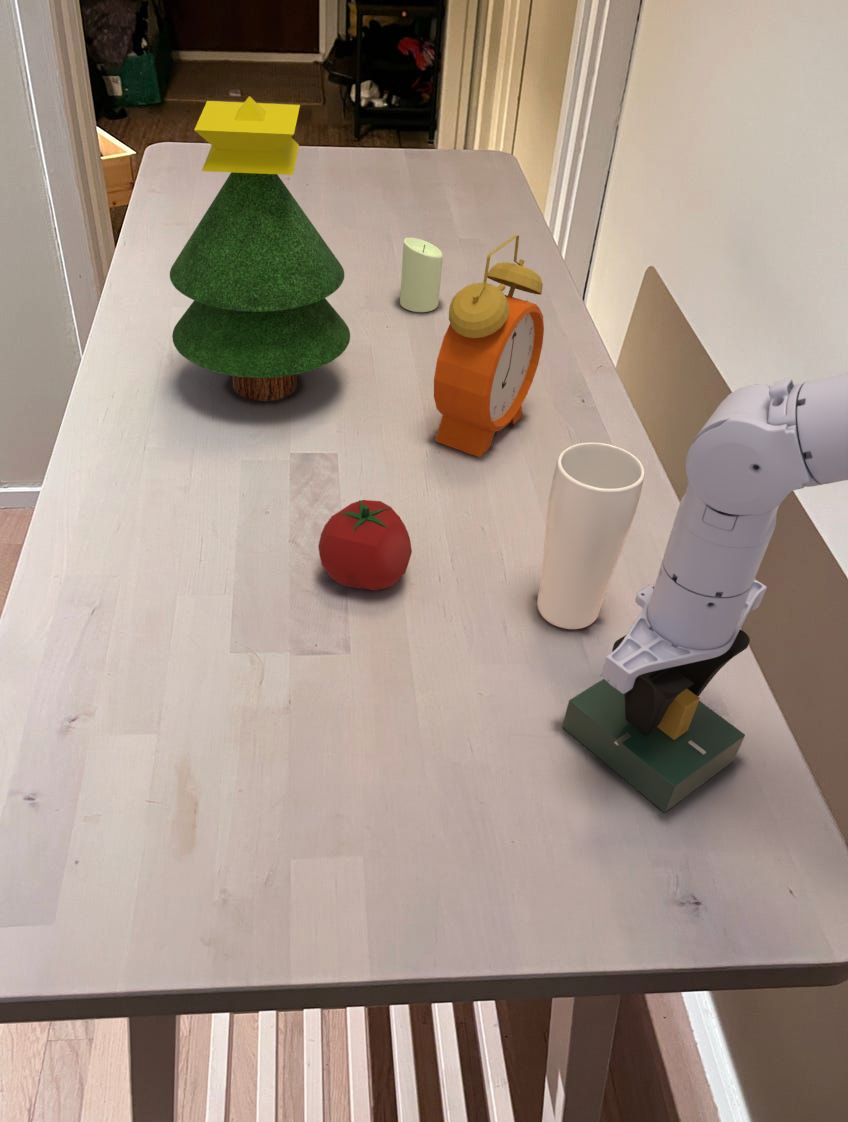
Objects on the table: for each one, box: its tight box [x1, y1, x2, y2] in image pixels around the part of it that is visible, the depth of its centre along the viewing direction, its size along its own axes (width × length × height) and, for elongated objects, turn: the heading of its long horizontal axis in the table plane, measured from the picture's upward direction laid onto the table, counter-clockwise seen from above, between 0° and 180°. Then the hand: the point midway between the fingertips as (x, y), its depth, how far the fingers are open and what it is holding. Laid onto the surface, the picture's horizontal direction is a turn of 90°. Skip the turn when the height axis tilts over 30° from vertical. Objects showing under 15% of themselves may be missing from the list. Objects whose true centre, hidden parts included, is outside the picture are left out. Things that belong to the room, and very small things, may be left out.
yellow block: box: [657, 689, 701, 740], centre depth 72 cm, size 5×2×4 cm, turn 38°
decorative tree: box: [169, 95, 351, 402], centre depth 102 cm, size 19×19×30 cm
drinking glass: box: [536, 442, 646, 630], centre depth 81 cm, size 7×7×15 cm
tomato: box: [317, 499, 413, 591], centre depth 86 cm, size 8×8×7 cm
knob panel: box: [561, 678, 746, 813], centre depth 74 cm, size 10×9×3 cm
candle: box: [399, 237, 444, 313], centre depth 126 cm, size 5×5×8 cm
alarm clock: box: [433, 234, 545, 458], centre depth 100 cm, size 13×6×20 cm, turn 148°
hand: (657, 712), depth 73 cm, fingers open, 4 cm apart
